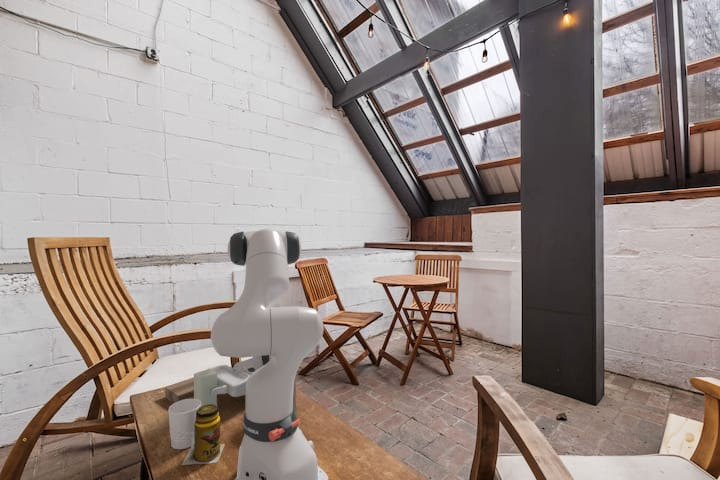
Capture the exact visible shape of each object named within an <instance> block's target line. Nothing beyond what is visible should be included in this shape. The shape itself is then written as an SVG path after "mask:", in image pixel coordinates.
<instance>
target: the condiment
mask: <svg viewBox="0 0 720 480" xmlns="http://www.w3.org/2000/svg"><path fill="white" fill-rule="evenodd" d="M219 410H220V409H219V406H218V405H217V406H216V405H213V404H208V405H204V406H202V407H200V408H199V409H198V410H197V411H196V421H195V424H194V435H195V442H194V443H195V444H194V445H193V446H191V447H190V448H189V451H188V452H187V454H186V456H185V458H184V459H183V462H181V466H187V465H203V464H205V465H206V464H216V463H218V462H219V459H220V458H221V455H222V452H223V450H224V448H225V445H226V443H221V417H220V412H219Z"/></svg>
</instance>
